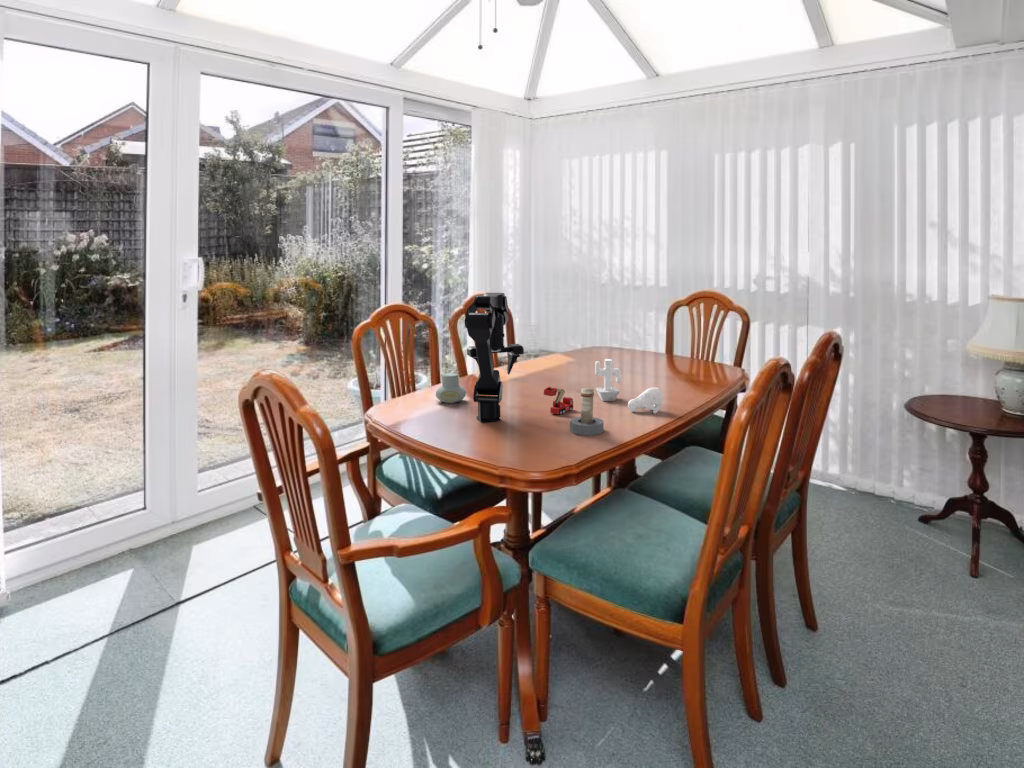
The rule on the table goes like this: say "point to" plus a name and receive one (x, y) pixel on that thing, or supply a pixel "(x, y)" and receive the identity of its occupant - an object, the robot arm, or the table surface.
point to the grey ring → (586, 426)
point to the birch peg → (587, 405)
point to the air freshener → (450, 389)
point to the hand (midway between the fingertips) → (495, 375)
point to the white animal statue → (647, 400)
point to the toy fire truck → (557, 405)
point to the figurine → (607, 380)
